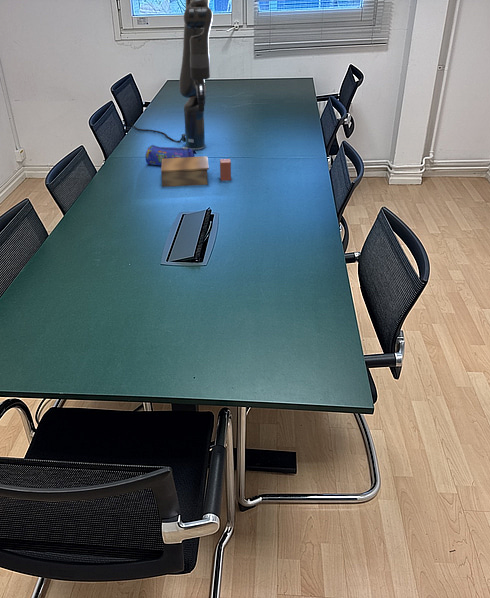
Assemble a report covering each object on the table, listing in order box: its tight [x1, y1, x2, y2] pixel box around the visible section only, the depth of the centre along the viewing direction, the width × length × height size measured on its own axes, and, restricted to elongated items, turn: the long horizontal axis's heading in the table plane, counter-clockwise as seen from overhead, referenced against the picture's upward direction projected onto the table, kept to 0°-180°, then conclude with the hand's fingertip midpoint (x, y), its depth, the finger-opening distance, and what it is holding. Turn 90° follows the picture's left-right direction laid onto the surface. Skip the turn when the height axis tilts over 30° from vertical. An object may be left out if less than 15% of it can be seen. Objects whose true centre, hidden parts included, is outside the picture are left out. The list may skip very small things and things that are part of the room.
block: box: [219, 158, 232, 182], centre depth 228 cm, size 4×4×8 cm
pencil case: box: [145, 144, 197, 167], centre depth 242 cm, size 22×9×10 cm, turn 71°
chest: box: [160, 170, 209, 188], centre depth 229 cm, size 19×14×7 cm
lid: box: [160, 155, 210, 173], centre depth 227 cm, size 19×14×1 cm
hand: (201, 110), depth 221 cm, fingers closed
